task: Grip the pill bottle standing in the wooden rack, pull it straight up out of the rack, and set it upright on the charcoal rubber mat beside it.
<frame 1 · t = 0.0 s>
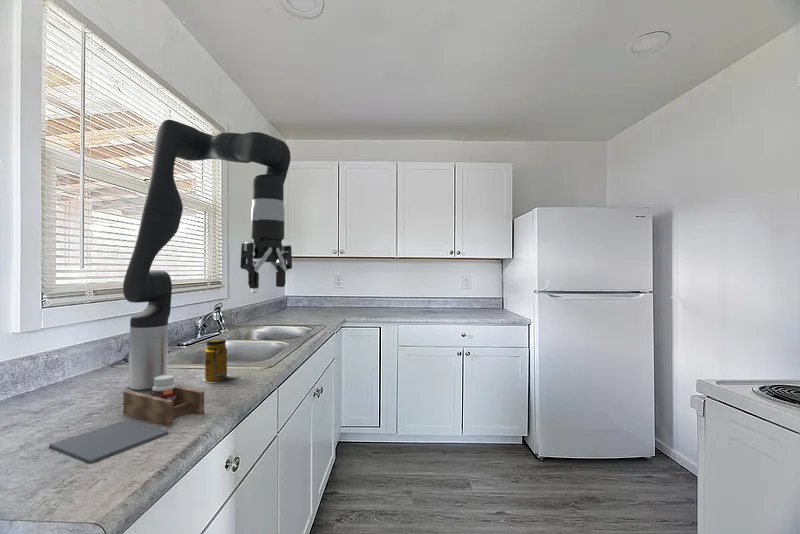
hand: (267, 287, 96), 29 cm above the countertop, fingers open, 8 cm apart
wooden rack: (163, 413, 93), on the countertop
condiment: (219, 379, 123), on the countertop
pill bottle: (163, 414, 93), resting in wooden rack
mat: (111, 439, 79), on the countertop
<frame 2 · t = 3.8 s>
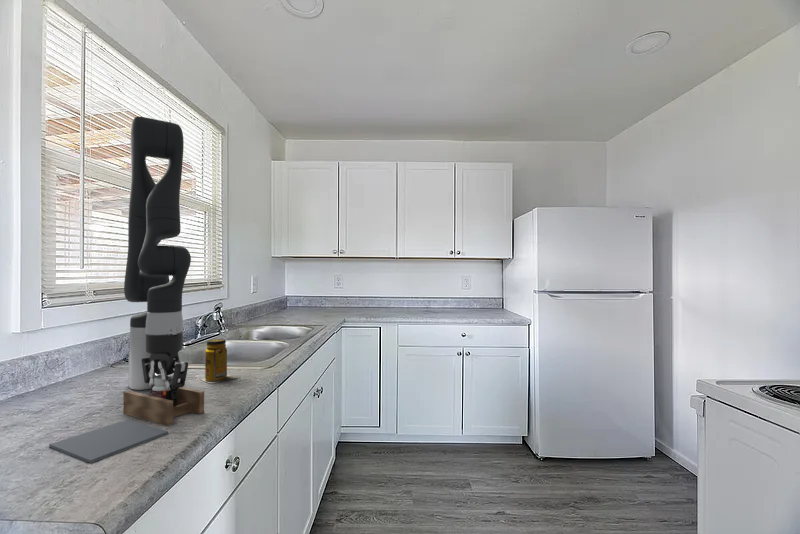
hand: (164, 403, 93), 2 cm above the countertop, fingers closed on pill bottle, 4 cm apart
pill bottle: (163, 413, 93), resting in wooden rack, touching gripper
everything else where it was.
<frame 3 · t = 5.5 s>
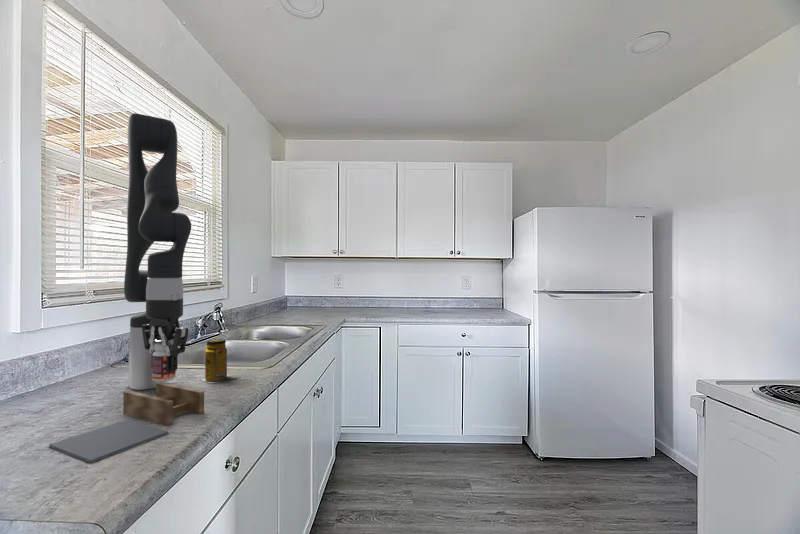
hand: (164, 369, 94), 10 cm above the countertop, fingers closed on pill bottle, 4 cm apart
pill bottle: (164, 379, 94), point 8 cm above the countertop, touching gripper
everything else where it was.
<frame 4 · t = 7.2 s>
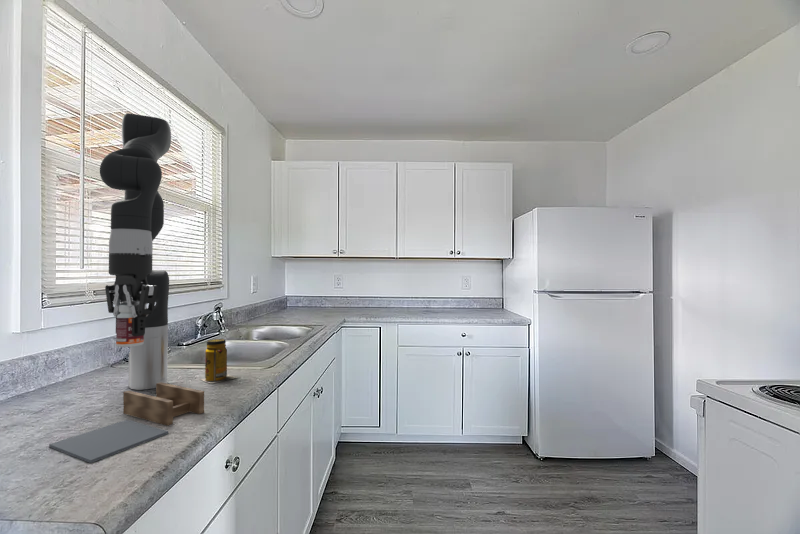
hand: (130, 334, 83), 20 cm above the countertop, fingers closed on pill bottle, 4 cm apart
pill bottle: (130, 346, 83), point 18 cm above the countertop, touching gripper
everything else where it was.
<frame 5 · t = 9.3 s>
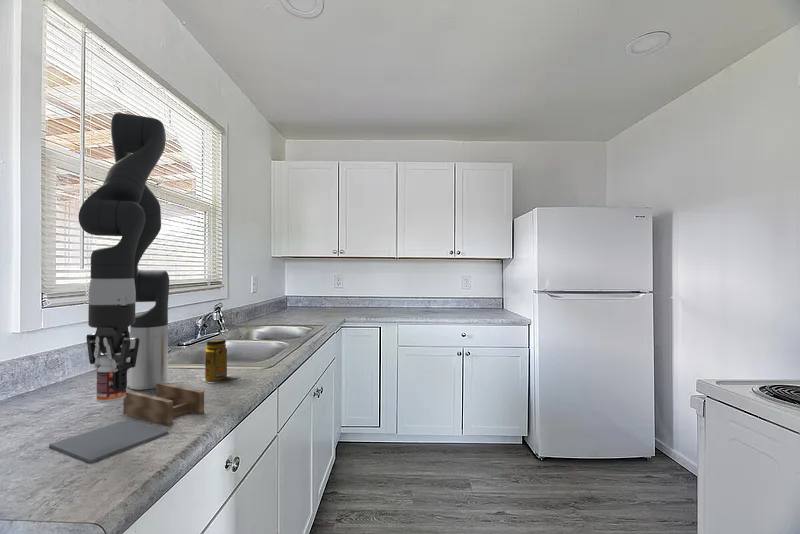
hand: (111, 387, 79), 10 cm above the countertop, fingers closed on pill bottle, 4 cm apart
pill bottle: (111, 400, 79), point 8 cm above the countertop, touching gripper
everything else where it was.
when the fingers open (4 cm above the countertop, at t = 11.0 s): pill bottle stays where it is, resting on mat.
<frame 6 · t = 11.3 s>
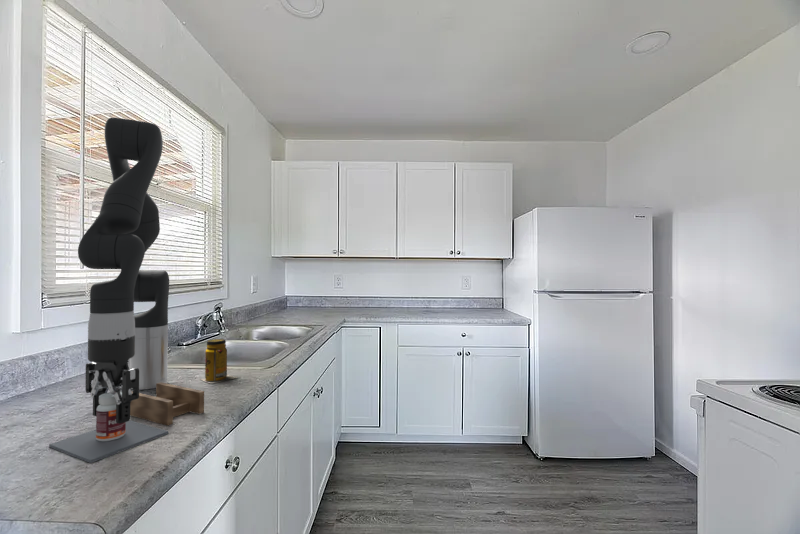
hand: (111, 418, 79), 4 cm above the countertop, fingers open, 7 cm apart
pill bottle: (111, 438, 79), resting on mat
everything else where it was.
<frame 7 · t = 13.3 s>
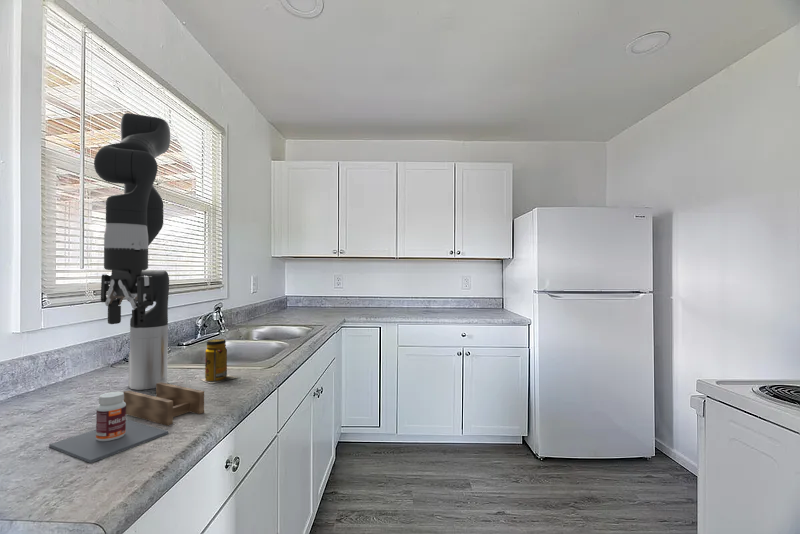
hand: (126, 325, 83), 22 cm above the countertop, fingers open, 8 cm apart
nothing on the countertop moved.
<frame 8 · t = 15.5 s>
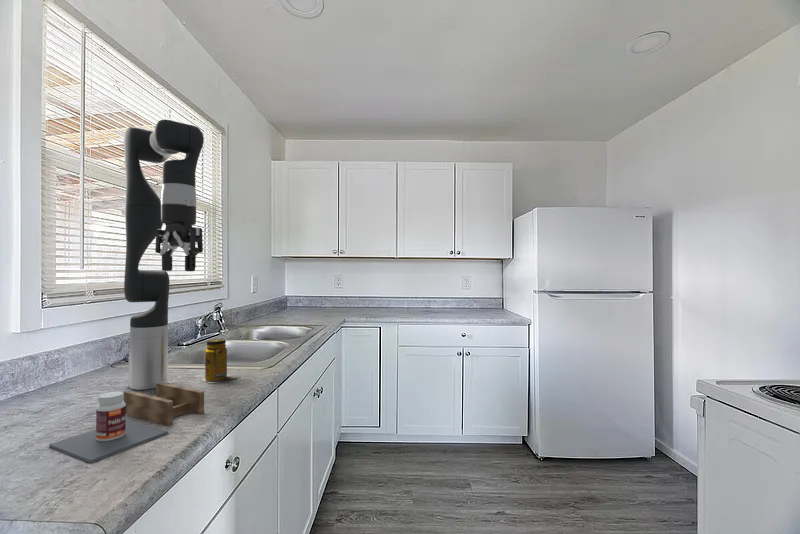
hand: (178, 271, 98), 33 cm above the countertop, fingers open, 8 cm apart
nothing on the countertop moved.
at the end: pill bottle inside the target area on the mat (0.2 cm from its centre), point 0.3 cm above the mat's base; pill bottle tilted 0°; the gripper is holding nothing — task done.
